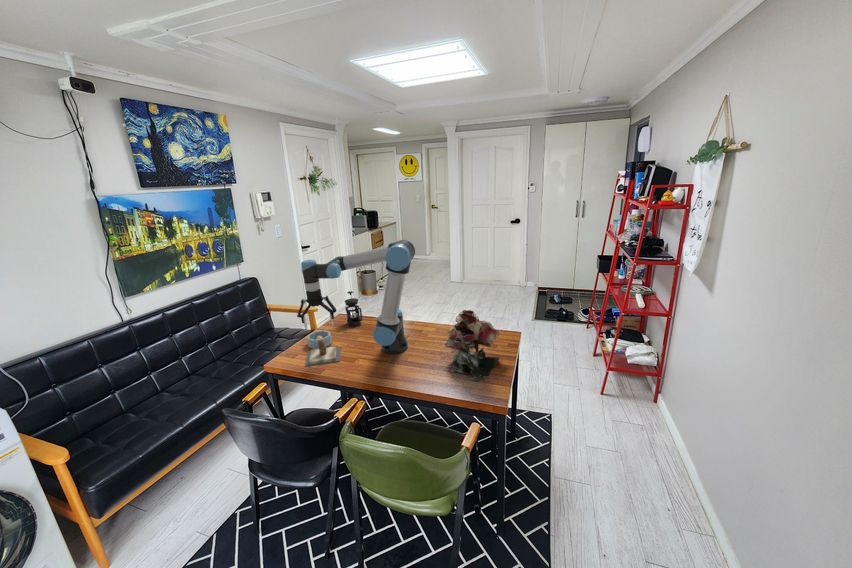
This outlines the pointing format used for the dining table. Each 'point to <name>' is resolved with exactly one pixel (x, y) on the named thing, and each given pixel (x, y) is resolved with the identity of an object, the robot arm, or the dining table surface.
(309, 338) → the bowl
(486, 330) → the rose bouquet
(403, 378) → the dining table surface
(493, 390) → the dining table surface
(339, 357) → the mat
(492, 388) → the dining table surface
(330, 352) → the lid
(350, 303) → the french press
